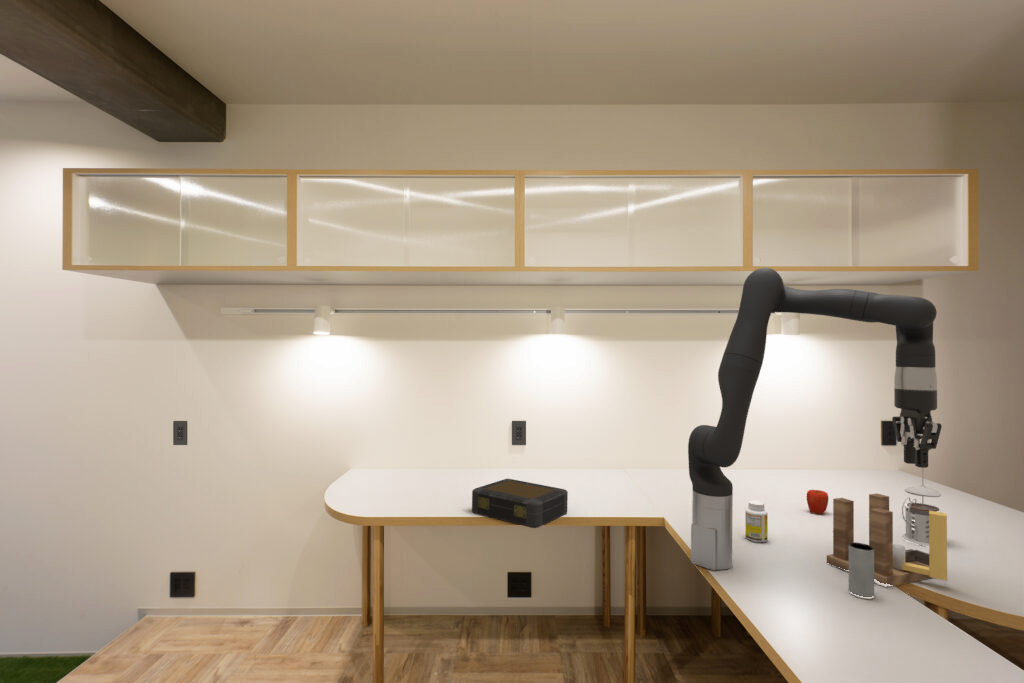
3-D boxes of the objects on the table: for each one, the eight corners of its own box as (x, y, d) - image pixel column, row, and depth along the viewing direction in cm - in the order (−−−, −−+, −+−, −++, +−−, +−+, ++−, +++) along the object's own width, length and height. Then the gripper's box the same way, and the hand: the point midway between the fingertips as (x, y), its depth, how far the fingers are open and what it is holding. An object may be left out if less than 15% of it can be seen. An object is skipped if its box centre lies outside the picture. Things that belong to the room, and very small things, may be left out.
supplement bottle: (760, 536, 145) (760, 499, 146) (771, 543, 140) (771, 505, 140) (741, 536, 145) (741, 499, 145) (752, 543, 139) (752, 505, 140)
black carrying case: (570, 513, 164) (570, 489, 165) (535, 530, 148) (536, 503, 148) (507, 499, 179) (507, 477, 179) (469, 513, 163) (470, 489, 163)
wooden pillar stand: (885, 587, 113) (885, 514, 114) (826, 563, 126) (826, 498, 127) (937, 576, 120) (937, 507, 121) (876, 554, 133) (876, 492, 134)
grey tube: (851, 597, 109) (851, 548, 109) (846, 588, 113) (846, 541, 113) (877, 601, 107) (877, 551, 107) (870, 591, 111) (870, 544, 112)
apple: (817, 516, 164) (817, 493, 164) (801, 511, 170) (801, 488, 170) (833, 515, 166) (833, 492, 166) (817, 509, 172) (817, 487, 172)
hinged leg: (892, 568, 118) (891, 507, 119) (892, 564, 121) (892, 504, 121) (947, 580, 112) (946, 516, 113) (946, 576, 115) (946, 513, 115)
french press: (955, 546, 140) (954, 454, 140) (924, 550, 136) (923, 455, 137) (917, 534, 149) (917, 447, 150) (887, 537, 146) (887, 449, 147)
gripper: (956, 390, 107) (957, 473, 106) (914, 386, 121) (914, 459, 120) (916, 389, 108) (917, 471, 108) (879, 385, 122) (879, 458, 122)
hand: (915, 464), depth 114 cm, fingers open, 3 cm apart
